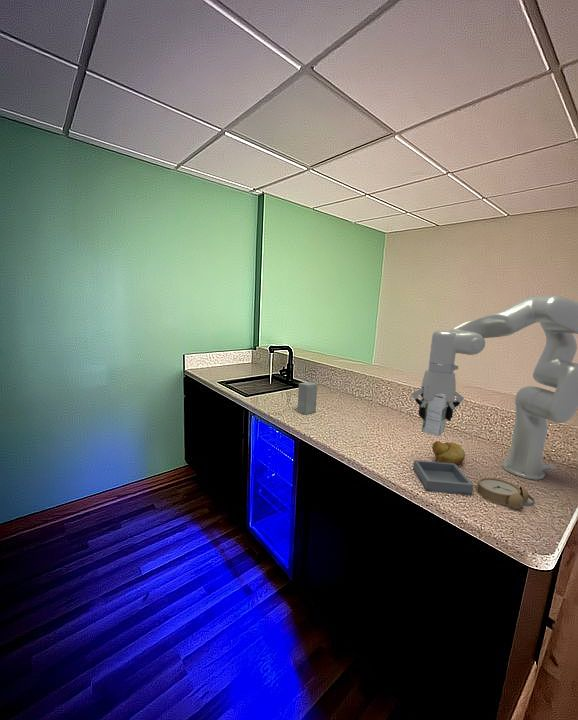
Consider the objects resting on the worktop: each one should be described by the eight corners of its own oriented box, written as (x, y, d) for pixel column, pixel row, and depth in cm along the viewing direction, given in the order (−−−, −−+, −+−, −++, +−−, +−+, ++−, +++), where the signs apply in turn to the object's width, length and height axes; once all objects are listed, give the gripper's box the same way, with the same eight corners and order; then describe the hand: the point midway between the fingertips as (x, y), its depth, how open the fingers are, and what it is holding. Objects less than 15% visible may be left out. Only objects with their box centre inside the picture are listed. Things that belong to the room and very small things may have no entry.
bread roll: (448, 453, 130) (451, 434, 129) (472, 464, 122) (475, 444, 120) (427, 459, 124) (430, 440, 122) (451, 471, 115) (454, 450, 114)
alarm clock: (485, 474, 109) (539, 487, 97) (485, 488, 109) (540, 503, 97) (471, 484, 102) (528, 499, 90) (471, 499, 102) (528, 517, 90)
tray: (453, 472, 114) (454, 463, 114) (472, 495, 100) (473, 485, 100) (413, 469, 115) (414, 460, 115) (426, 491, 101) (427, 481, 101)
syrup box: (427, 427, 115) (431, 388, 112) (444, 432, 111) (449, 391, 108) (421, 432, 110) (426, 391, 108) (439, 437, 106) (444, 394, 104)
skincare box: (305, 415, 167) (307, 385, 164) (296, 411, 172) (297, 382, 169) (316, 412, 172) (318, 383, 170) (307, 408, 178) (309, 380, 175)
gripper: (463, 367, 109) (457, 416, 112) (410, 364, 111) (405, 413, 114) (473, 372, 102) (466, 424, 105) (416, 368, 104) (411, 420, 107)
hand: (434, 418), depth 110 cm, fingers closed on syrup box, 7 cm apart
